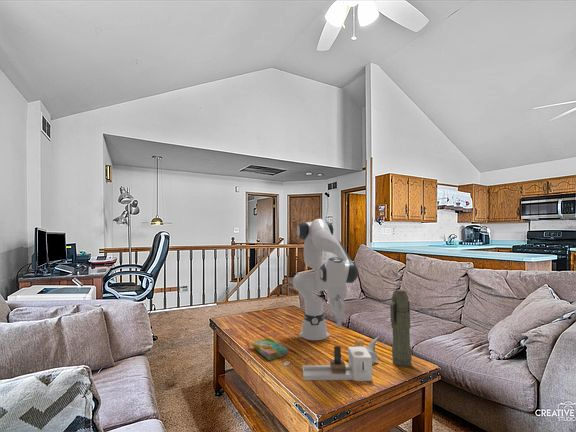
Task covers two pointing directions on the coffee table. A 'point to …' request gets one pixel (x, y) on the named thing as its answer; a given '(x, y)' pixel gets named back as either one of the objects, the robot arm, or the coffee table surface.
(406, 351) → the thermos
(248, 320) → the coffee table surface
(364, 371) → the rail base
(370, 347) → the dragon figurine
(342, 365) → the carriage
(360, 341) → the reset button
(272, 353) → the puzzle game
